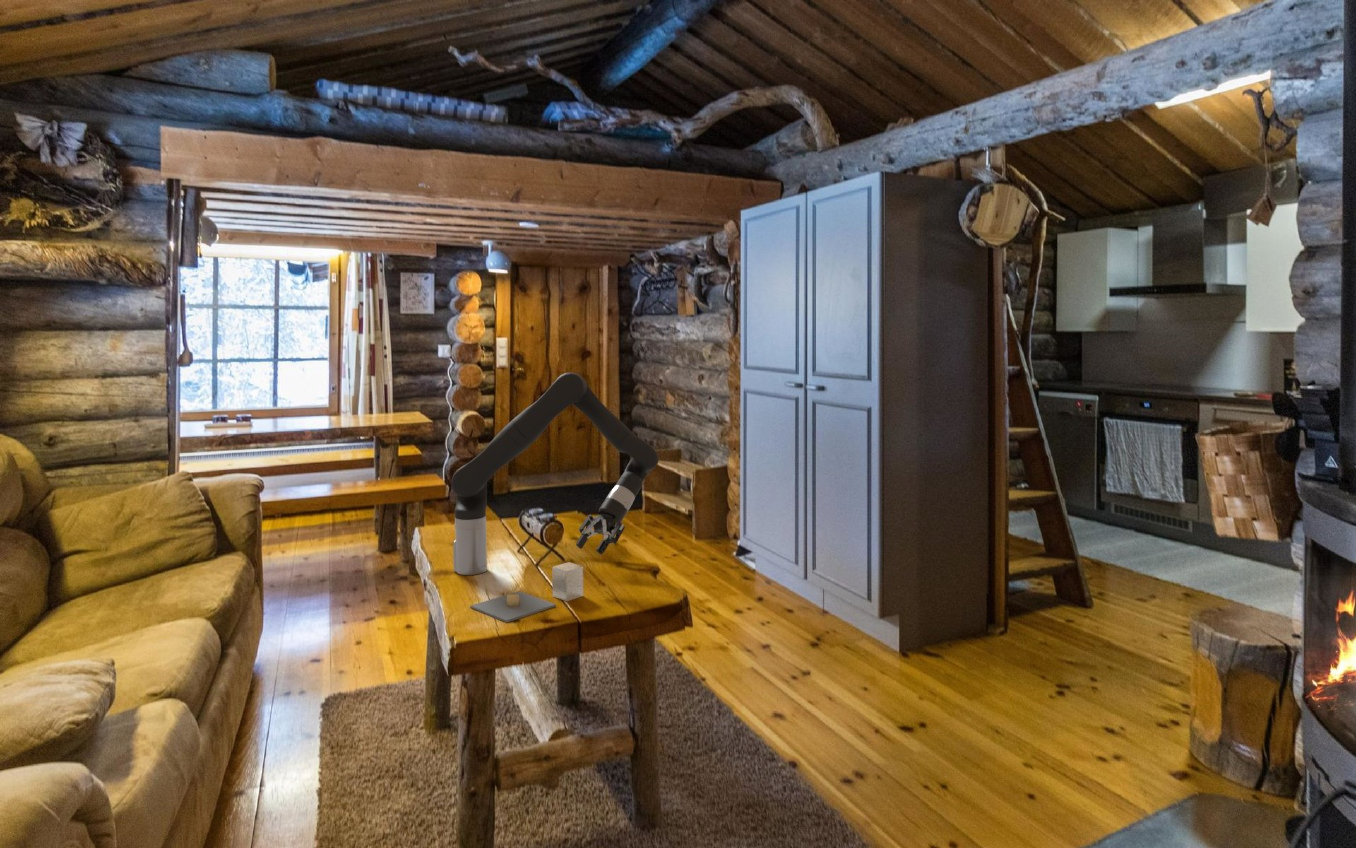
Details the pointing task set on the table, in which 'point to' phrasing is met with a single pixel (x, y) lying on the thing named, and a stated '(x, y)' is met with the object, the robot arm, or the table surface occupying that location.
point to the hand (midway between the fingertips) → (588, 550)
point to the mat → (512, 611)
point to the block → (567, 581)
